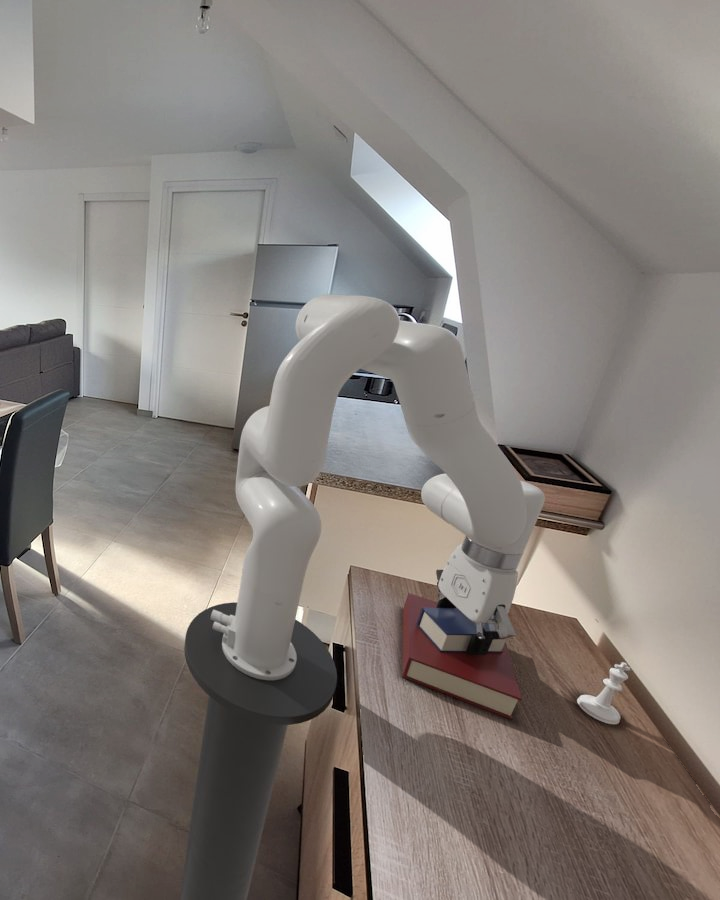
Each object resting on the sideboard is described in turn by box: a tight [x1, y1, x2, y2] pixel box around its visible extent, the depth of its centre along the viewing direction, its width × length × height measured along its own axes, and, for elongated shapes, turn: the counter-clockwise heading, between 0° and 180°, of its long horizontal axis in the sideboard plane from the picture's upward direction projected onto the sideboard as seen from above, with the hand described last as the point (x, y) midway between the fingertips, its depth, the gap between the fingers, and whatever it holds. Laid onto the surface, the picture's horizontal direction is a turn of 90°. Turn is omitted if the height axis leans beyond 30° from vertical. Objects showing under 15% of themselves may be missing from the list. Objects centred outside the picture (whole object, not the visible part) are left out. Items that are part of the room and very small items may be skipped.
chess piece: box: [576, 661, 631, 725], centre depth 71 cm, size 5×5×10 cm
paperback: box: [416, 607, 508, 653], centre depth 80 cm, size 11×6×4 cm, turn 91°
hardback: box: [401, 593, 523, 721], centre depth 82 cm, size 20×15×4 cm
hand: (458, 635), depth 81 cm, fingers open, 7 cm apart
